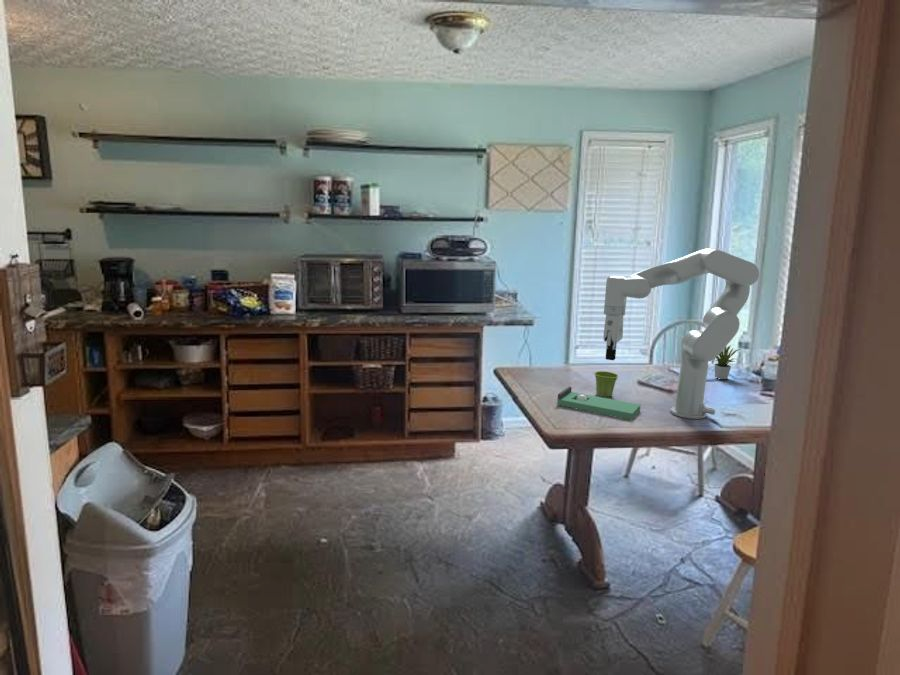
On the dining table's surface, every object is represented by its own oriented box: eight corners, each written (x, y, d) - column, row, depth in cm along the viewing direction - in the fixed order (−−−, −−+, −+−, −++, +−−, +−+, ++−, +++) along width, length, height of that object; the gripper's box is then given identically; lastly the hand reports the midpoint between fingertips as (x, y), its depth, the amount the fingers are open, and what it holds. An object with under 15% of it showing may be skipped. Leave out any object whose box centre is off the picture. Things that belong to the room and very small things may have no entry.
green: (639, 410, 244) (641, 399, 243) (631, 419, 233) (633, 408, 232) (568, 397, 257) (569, 386, 256) (557, 405, 246) (558, 394, 245)
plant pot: (616, 393, 266) (618, 372, 264) (615, 399, 257) (618, 378, 255) (593, 390, 268) (595, 370, 267) (591, 396, 259) (593, 375, 258)
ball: (590, 398, 248) (582, 391, 249) (587, 400, 244) (579, 393, 245) (584, 406, 249) (576, 398, 250) (580, 408, 246) (572, 400, 247)
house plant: (734, 375, 306) (739, 341, 302) (744, 383, 292) (749, 348, 289) (703, 373, 307) (707, 339, 304) (711, 381, 293) (716, 345, 290)
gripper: (619, 314, 228) (615, 365, 232) (629, 308, 241) (625, 357, 245) (598, 311, 232) (594, 362, 236) (609, 306, 245) (605, 354, 248)
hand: (610, 359), depth 240 cm, fingers closed
